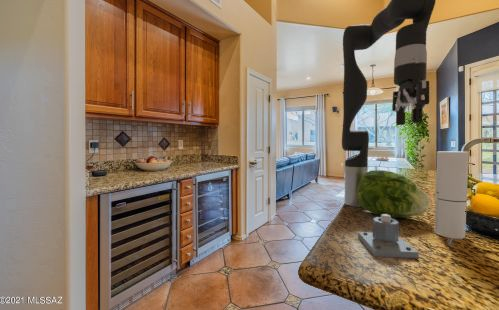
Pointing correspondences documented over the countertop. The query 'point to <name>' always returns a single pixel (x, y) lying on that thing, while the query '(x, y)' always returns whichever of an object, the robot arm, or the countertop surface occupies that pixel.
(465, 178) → the cylindrical container
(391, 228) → the collar
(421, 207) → the lettuce
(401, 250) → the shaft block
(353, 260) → the countertop surface
